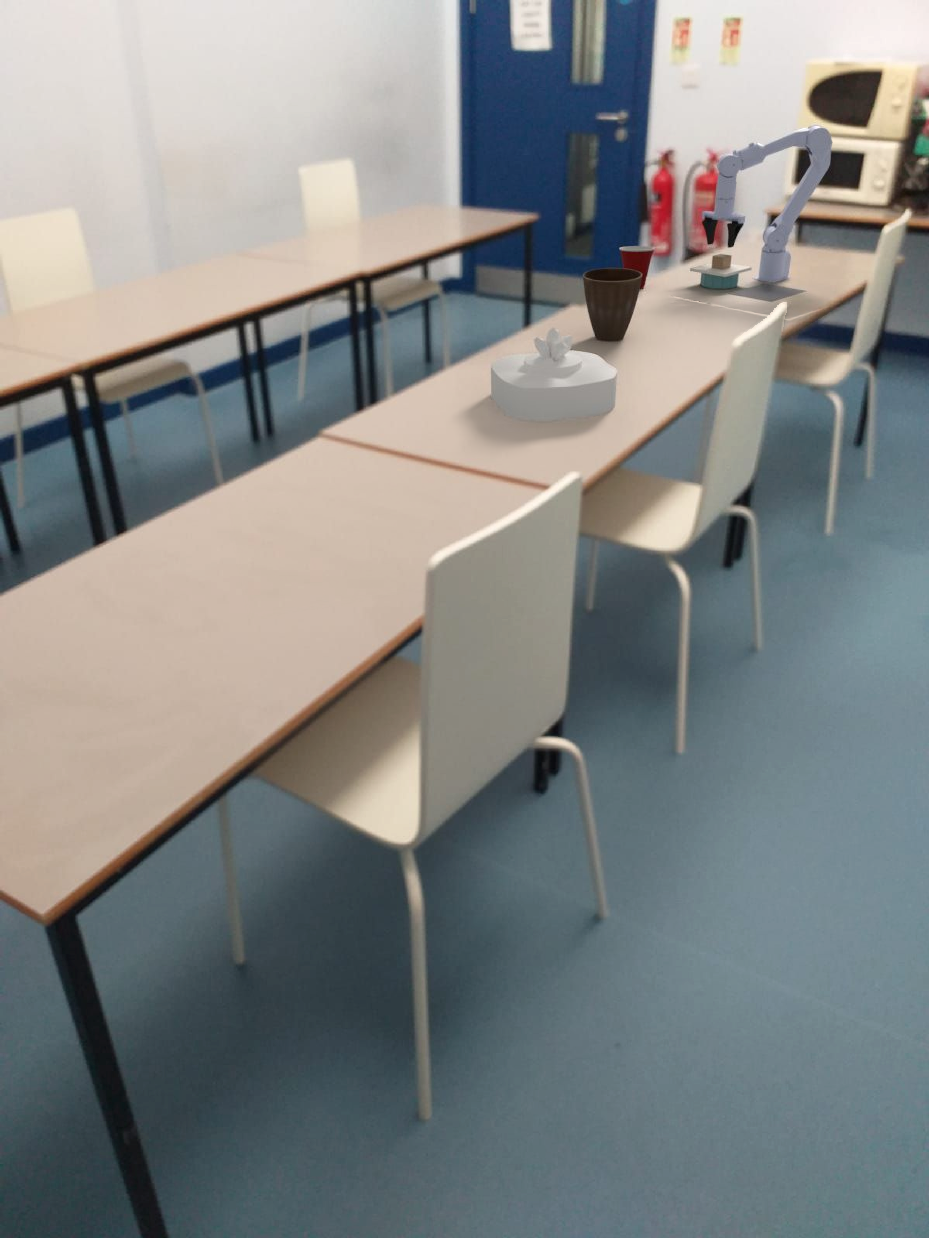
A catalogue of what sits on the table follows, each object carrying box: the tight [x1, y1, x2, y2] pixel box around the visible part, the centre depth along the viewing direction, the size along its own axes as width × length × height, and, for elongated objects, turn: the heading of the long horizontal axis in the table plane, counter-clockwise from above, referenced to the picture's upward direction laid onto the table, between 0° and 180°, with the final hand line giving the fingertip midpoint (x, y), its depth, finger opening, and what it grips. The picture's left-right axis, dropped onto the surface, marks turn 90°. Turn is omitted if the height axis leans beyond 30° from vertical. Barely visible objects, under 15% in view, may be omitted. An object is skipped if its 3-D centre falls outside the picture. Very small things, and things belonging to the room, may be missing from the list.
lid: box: [689, 253, 753, 277], centre depth 294 cm, size 13×13×4 cm
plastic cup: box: [619, 245, 656, 290], centre depth 298 cm, size 11×11×12 cm
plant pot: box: [582, 267, 642, 342], centre depth 249 cm, size 15×15×16 cm
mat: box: [728, 282, 806, 303], centre depth 288 cm, size 18×15×1 cm
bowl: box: [699, 273, 740, 290], centre depth 297 cm, size 11×11×5 cm
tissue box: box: [490, 327, 618, 423], centre depth 208 cm, size 25×25×16 cm
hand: (720, 245), depth 300 cm, fingers open, 7 cm apart
